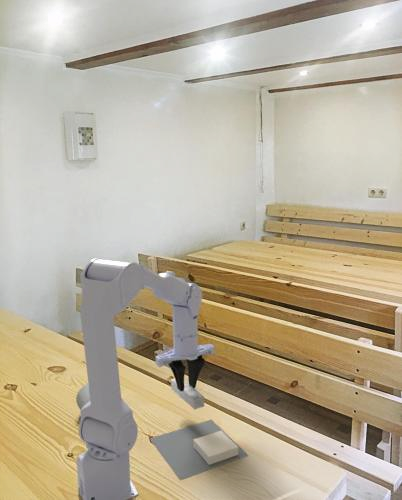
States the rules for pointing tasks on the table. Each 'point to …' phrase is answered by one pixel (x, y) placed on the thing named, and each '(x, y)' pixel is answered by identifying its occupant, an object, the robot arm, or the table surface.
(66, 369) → the table surface
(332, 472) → the table surface
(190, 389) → the bar
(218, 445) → the tile
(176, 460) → the mat
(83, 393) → the ceramic mug
